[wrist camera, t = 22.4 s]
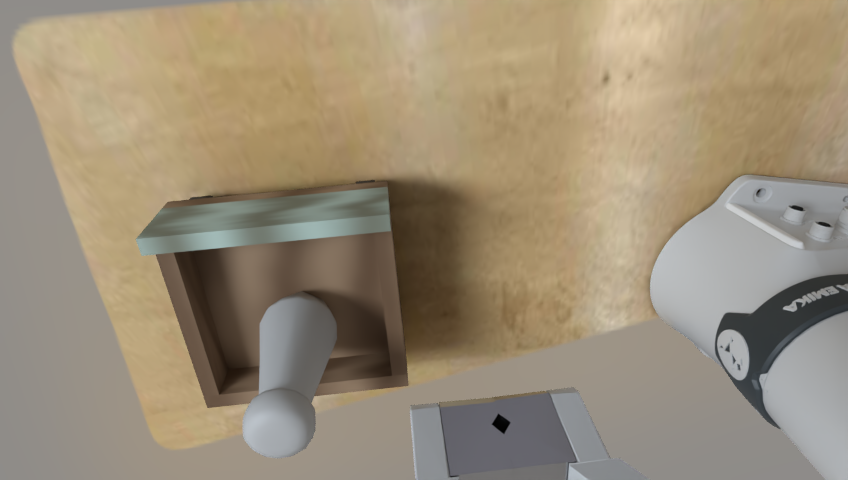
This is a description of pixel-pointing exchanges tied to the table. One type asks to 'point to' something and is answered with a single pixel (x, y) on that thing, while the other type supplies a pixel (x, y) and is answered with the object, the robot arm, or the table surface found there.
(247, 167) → the table surface
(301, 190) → the open wooden tray
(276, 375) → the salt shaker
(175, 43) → the table surface
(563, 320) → the table surface
